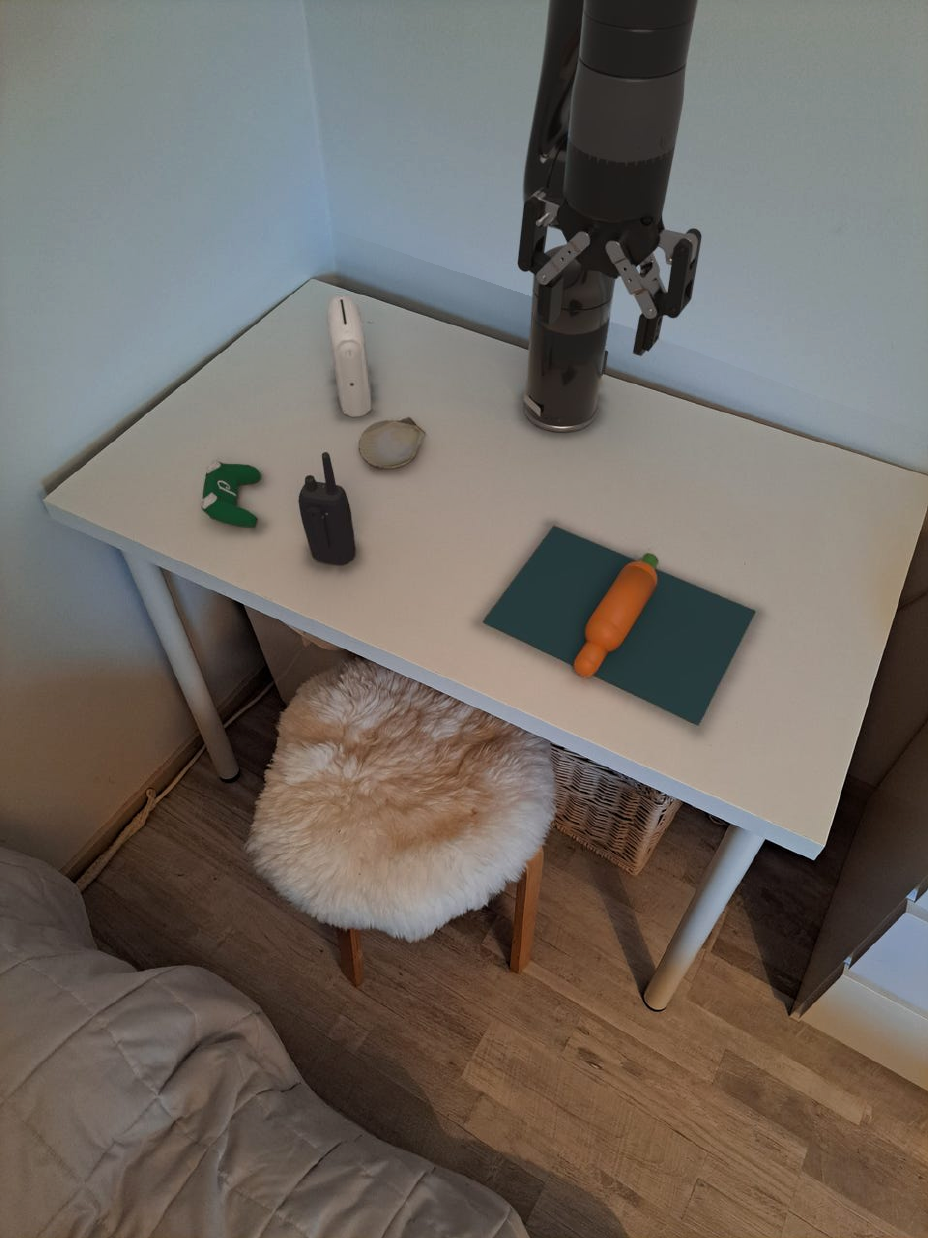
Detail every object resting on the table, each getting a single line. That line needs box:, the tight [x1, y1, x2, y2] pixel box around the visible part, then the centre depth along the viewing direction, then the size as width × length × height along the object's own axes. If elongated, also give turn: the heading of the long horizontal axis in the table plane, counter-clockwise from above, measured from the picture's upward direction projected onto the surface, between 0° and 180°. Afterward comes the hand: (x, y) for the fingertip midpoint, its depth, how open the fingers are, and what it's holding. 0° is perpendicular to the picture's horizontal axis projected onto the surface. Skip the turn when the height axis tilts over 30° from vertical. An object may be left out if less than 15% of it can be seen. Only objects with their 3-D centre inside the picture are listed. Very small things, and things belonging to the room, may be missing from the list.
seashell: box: [358, 416, 427, 470], centre depth 103 cm, size 8×3×8 cm
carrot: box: [573, 552, 660, 678], centre depth 86 cm, size 17×4×4 cm, turn 148°
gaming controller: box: [201, 459, 262, 528], centre depth 97 cm, size 9×4×6 cm
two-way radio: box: [298, 451, 357, 566], centre depth 87 cm, size 6×4×15 cm
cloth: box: [482, 525, 757, 726], centre depth 88 cm, size 16×24×1 cm, turn 58°
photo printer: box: [326, 295, 372, 418], centre depth 106 cm, size 10×4×12 cm, turn 10°
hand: (594, 334), depth 71 cm, fingers open, 8 cm apart
